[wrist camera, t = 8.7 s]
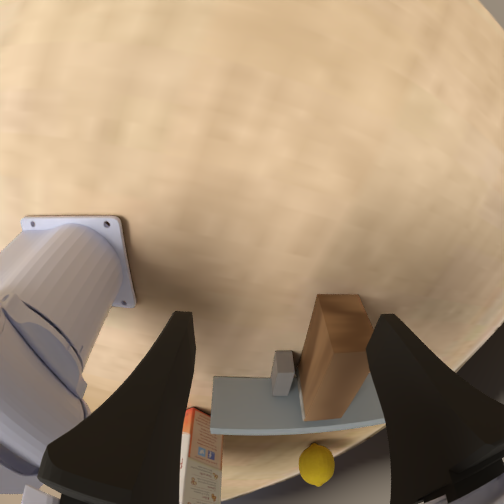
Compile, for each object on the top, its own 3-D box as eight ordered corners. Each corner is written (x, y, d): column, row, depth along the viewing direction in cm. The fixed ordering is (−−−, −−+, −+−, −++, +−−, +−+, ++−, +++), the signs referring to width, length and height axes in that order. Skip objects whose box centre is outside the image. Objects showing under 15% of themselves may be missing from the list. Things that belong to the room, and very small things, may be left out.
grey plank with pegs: (214, 384, 29) (210, 433, 24) (212, 349, 26) (206, 405, 21) (388, 377, 30) (403, 419, 25) (409, 344, 27) (429, 389, 22)
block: (295, 370, 28) (302, 421, 23) (315, 293, 23) (332, 353, 18) (330, 368, 28) (341, 418, 23) (359, 294, 23) (382, 349, 18)
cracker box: (190, 403, 32) (177, 567, 14) (225, 421, 34) (223, 568, 16) (131, 424, 36) (110, 547, 18) (162, 439, 39) (149, 554, 21)
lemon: (290, 448, 41) (294, 490, 34) (307, 436, 38) (312, 482, 31) (319, 449, 42) (325, 489, 35) (337, 437, 39) (344, 480, 32)
